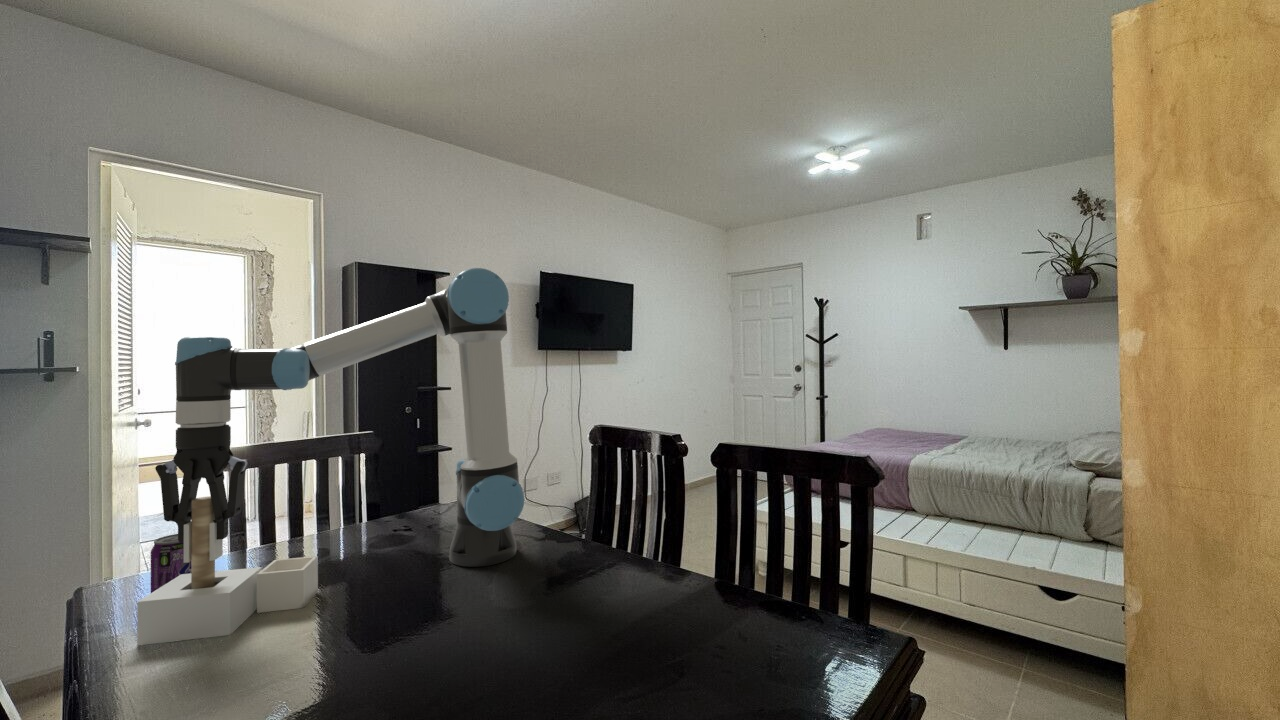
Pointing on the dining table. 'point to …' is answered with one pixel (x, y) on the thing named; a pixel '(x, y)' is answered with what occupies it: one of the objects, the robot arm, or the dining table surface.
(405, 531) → the dining table surface
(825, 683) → the dining table surface
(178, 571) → the beverage can
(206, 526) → the wooden cylinder rod
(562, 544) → the dining table surface
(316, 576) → the pen cup
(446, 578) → the dining table surface
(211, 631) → the box
